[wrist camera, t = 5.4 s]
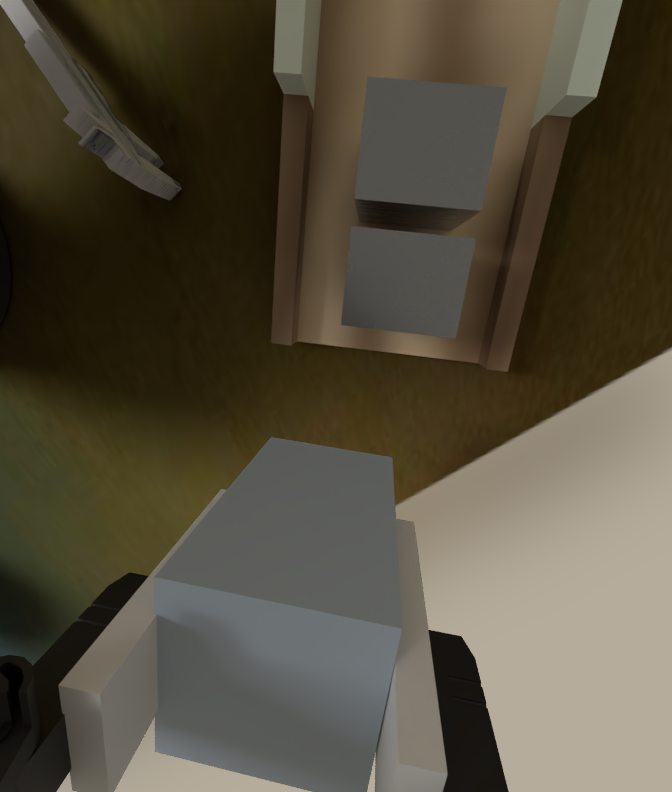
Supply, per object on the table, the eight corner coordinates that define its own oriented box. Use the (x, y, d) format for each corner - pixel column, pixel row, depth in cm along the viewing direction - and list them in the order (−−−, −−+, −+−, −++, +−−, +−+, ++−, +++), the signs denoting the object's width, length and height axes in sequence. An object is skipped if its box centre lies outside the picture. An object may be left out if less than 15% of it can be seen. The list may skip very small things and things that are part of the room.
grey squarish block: (349, 313, 22) (340, 325, 16) (357, 241, 21) (351, 226, 15) (433, 323, 22) (455, 338, 16) (446, 250, 20) (476, 238, 15)
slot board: (280, 337, 23) (270, 343, 21) (312, -207, 16) (303, -287, 14) (493, 362, 23) (507, 371, 20) (628, -196, 15) (673, -281, 13)
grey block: (262, 540, 16) (155, 751, 9) (271, 436, 15) (153, 577, 7) (373, 562, 16) (363, 804, 8) (392, 457, 15) (401, 628, 7)
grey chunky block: (359, 222, 20) (354, 198, 15) (368, 138, 19) (367, 76, 13) (450, 231, 20) (481, 211, 14) (466, 146, 19) (507, 87, 13)
